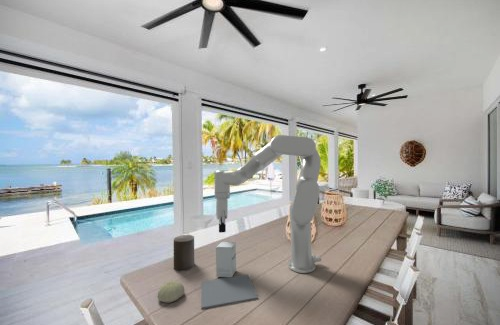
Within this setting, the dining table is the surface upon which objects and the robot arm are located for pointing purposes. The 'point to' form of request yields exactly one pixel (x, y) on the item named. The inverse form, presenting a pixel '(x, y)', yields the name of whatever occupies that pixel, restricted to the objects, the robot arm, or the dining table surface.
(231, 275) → the supplement box
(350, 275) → the dining table surface
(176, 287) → the sea urchin shell
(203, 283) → the charcoal mat
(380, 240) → the dining table surface
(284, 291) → the dining table surface
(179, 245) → the pillar candle
